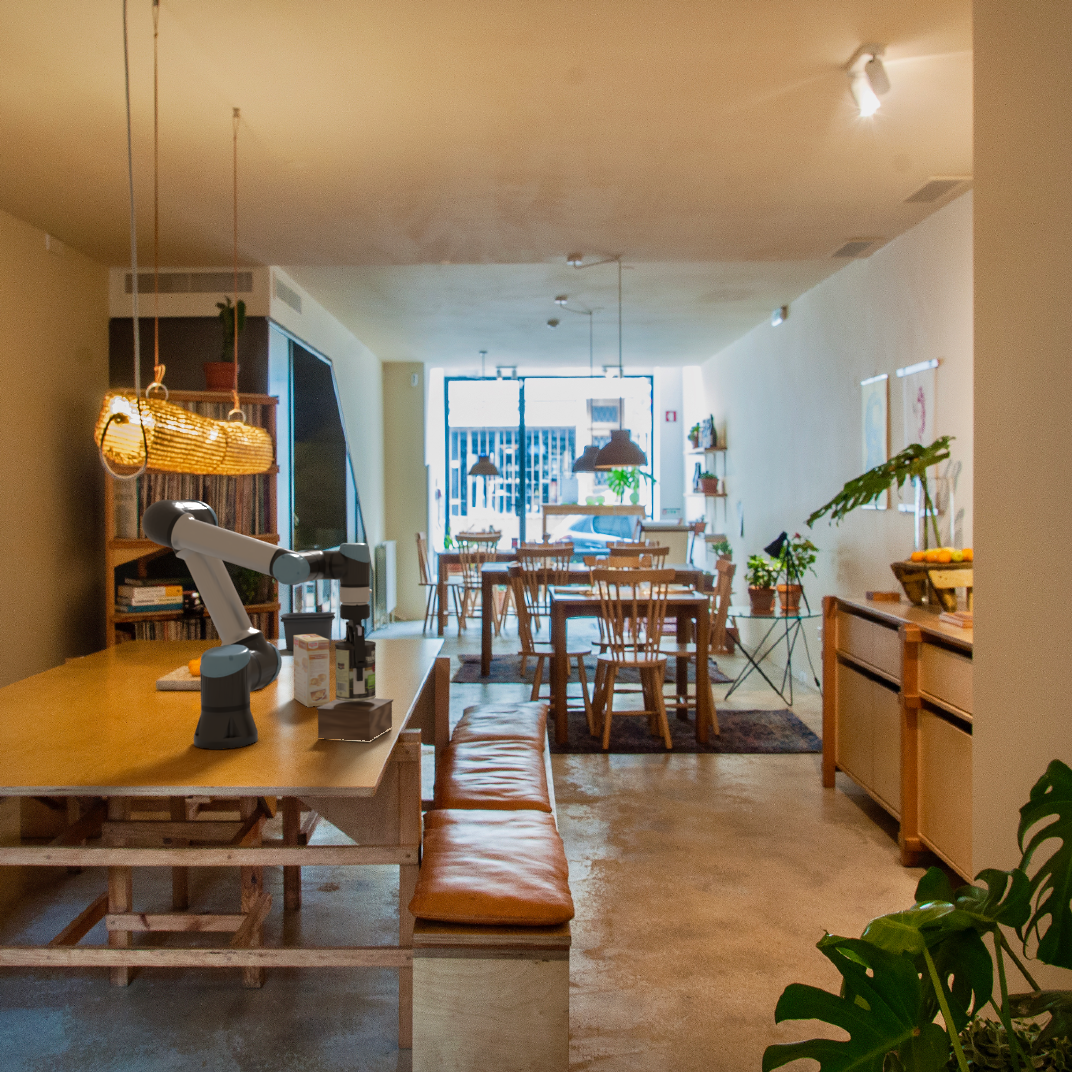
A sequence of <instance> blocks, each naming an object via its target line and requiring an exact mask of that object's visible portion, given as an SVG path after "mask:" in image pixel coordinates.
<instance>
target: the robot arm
mask: <svg viewBox="0 0 1072 1072" xmlns="http://www.w3.org/2000/svg"><path fill="white" fill-rule="evenodd" d="M141 522H142V523H141V524H142V525H141V526H142V530H143V532H144V534H145V536H146V537H147V539H149V540H150V541H151V542H153V543H155V544H157V545H160V546H164V547H168V548H170V549H172V550H173V552H174V554H175V557H176V558H179V559H181V560H182V561H183V560H184V563H185V564H186V566H187V568H188V570H189V572H190V575H191V577H192V579H193V581H194V583H195V586H196V588H197V590H198V593H199V595H200V596H201V599H202V600H203V603H204V604H205V608H206V610H207V612H208V614H209V616H210V618H211V620H212V623H213V625H214V628H215V630H216V631H217V634H218V636H219V638H220V639H221V645H220V646H214V647H211V648H209V649H206V650H205V651H204V652H203V653H202V654H201V657H200V664H199V665H200V666H199V672H200V673H199V674H200V675H199V676H200V715H199V718H198V722H197V724H196V728H195V731H194V734H193V745H194V747H196V748H199V747H200V748H199V749H203V748H209V749H208V750H224V749H223V748H230V749H236V748H235V747H238V748H242V747H241V746H243V747H246V745H247V746H249V745H248V744H250V745H252V744H251V743H253V744H255V743H257V741H258V739H259V732H258V731H259V730H258V728H257V724H256V723H255V719H254V717H253V714H252V711H251V692H253V691H255V690H257V689H262V688H263V689H264V688H265V687H267V686H268V685H269V684H271V683H273V681H275V680H276V678H278V677H279V674H280V671H281V670H282V663H283V661H282V655H281V652H280V651H279V649H278V648H277V646H276V645H274V644H273V643H271V642H269V641H268V640H266V638H265V636H264V633H263V632H262V630H259V629H257V628H254V626H253V624H252V622H251V619H250V618H249V615H248V613H247V611H246V608H245V607H244V605H243V602H242V600H241V597H240V596H239V594H238V591H237V590H236V587H235V586H234V583H233V581H232V579H231V575H230V574H229V572H228V570H227V568H226V566H225V564H224V562H227V563H230V564H233V565H237V566H238V567H243V568H246V569H249V570H252V571H256V572H258V573H261V574H264V575H268V576H269V577H273V578H275V579H276V581H278V582H279V583H280V584H283V585H287V586H296V585H299V584H302V583H307V582H312V581H313V582H314V581H321V580H323V581H324V580H329V581H330V580H335V581H336V580H338V581H339V602H340V603H341V604H340V606H339V616H340V619H341V620H346V621H345V641H348V642H350V643H351V644H352V646H355V650H354V665H352V667H351V668H352V669H353V694H363V693H365V666H366V652H365V641H366V633H365V631H366V627H365V626H364V625H363V624H362V620H368V619H369V618H370V616H371V605H370V603H368V602H370V600H371V599H370V597H371V596H370V594H372V593H373V590H372V589H370V587H371V586H370V585H371V583H370V575H371V574H370V573H371V570H370V569H371V559H370V557H371V556H370V547H369V545H368V544H367V543H365V542H343V543H341V544H339V549H338V550H323V549H322V550H320V549H318V550H316V549H303V550H299V551H295V550H291V549H288V548H284V547H282V546H280V545H279V546H278V545H276V544H272V543H269V542H267V541H263V540H260V539H257V538H254V537H250V536H247V535H244V534H241V533H238V532H236V531H233V530H229V529H226V528H223V527H220V526H219V522H218V516H217V514H216V512H215V511H214V509H213V508H212V507H211V506H210V505H208V503H205V502H203V501H200V500H195V499H191V498H189V499H162V500H158V501H155V502H153V503H152V504H151V505H149V506H148V507H147V508H146V509H145V511H144V512H143V515H142V520H141ZM223 561H224V562H223ZM254 742H255V743H254Z"/></svg>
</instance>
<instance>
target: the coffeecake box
mask: <svg viewBox="0 0 1072 1072" xmlns="http://www.w3.org/2000/svg"><path fill="white" fill-rule="evenodd" d="M293 637H294V650H293V699H295V700H296V701H297V702H299V703H301V704H302V705H304V706H305V707H306V706H307V707H306V708H313V706H315V707H320V706H322V705H325V704H327V703H329V702H331V699H330V696H331V695H330V684H331V683H330V674H331V673H330V647H329V639H326V638H323V637H321V636H318V635H316V634H304V635H294V636H293Z"/></svg>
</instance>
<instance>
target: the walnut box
mask: <svg viewBox="0 0 1072 1072" xmlns="http://www.w3.org/2000/svg"><path fill="white" fill-rule="evenodd" d="M393 702H394V698H393V699H392V698H391V699H390V698H376V697H375V698H373V699H370V700H365V701H341V700H337V699H336V698H335V699H333V700H332V701H331V700H330V702H329V703H327V704H325V705H322V706H317V707H315V708H316V709H315V710H316V711H317V739H318V738H324V739H341V740H342V739H344V740H361V741H362V740H365V741H370V740H372V739H374V737H376V736H378V735H380V734H381V733H383V732H385V731H386V730H387V729H389V728H391V727H392V728H393Z"/></svg>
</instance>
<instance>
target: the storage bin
mask: <svg viewBox="0 0 1072 1072" xmlns="http://www.w3.org/2000/svg"><path fill="white" fill-rule="evenodd" d="M335 614H336V612H334V611H333V612H331V611H329V612H328V611H327V612H326V611H325V612H324V611H323V612H322V611H321V612H319V611H317V612H288V613H287V612H286V613H283V614H281V615H279V617H280V622H282V623H283V629H284V638H285V639H284V640H285V646H286V650H287V651H294V637H293V636H294V635H304V634H316V635H318V636H321V637H323V638H326V639H329V648H330V647H331V642H332V629H333V627H332V626H333V620H334V619H336V616H335Z"/></svg>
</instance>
